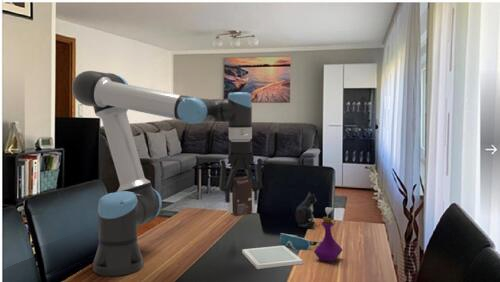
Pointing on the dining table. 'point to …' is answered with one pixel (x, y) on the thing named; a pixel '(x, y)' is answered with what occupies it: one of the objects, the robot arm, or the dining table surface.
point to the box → (242, 196)
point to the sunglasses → (296, 242)
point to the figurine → (306, 212)
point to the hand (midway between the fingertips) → (241, 211)
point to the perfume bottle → (328, 241)
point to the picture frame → (271, 257)
